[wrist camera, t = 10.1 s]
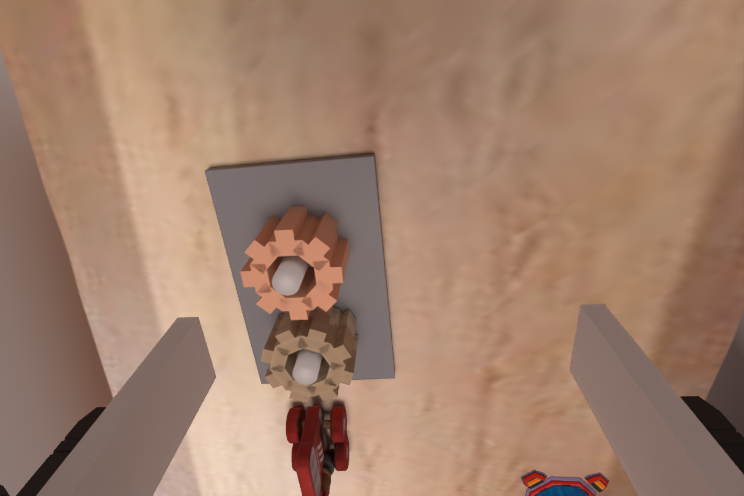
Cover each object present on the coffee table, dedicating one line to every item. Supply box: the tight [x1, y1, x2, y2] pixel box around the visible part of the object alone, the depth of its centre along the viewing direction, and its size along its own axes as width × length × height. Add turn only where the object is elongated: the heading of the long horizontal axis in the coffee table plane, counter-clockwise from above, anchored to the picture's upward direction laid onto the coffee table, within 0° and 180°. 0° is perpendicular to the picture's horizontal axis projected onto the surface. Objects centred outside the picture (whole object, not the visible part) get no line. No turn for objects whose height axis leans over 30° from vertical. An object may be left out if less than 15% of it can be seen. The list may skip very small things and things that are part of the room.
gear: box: [261, 306, 358, 402], centre depth 44 cm, size 9×9×6 cm
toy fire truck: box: [286, 406, 349, 496], centre depth 50 cm, size 7×12×10 cm, turn 3°
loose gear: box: [240, 206, 350, 320], centre depth 40 cm, size 9×9×6 cm
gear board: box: [205, 154, 395, 385], centre depth 42 cm, size 26×16×9 cm, turn 6°
